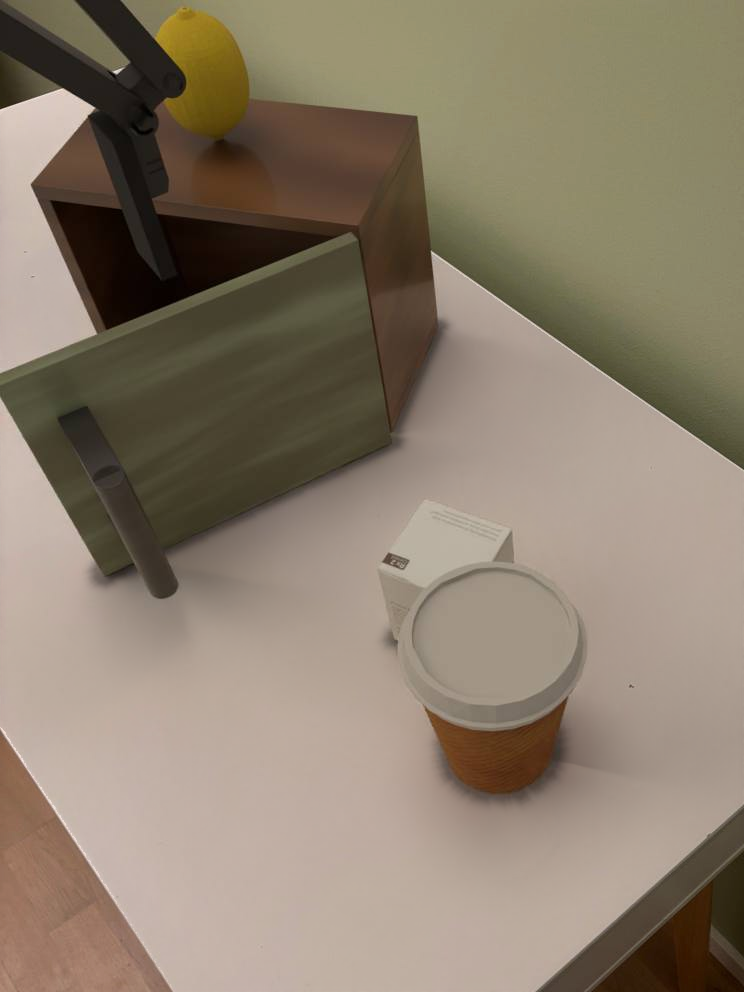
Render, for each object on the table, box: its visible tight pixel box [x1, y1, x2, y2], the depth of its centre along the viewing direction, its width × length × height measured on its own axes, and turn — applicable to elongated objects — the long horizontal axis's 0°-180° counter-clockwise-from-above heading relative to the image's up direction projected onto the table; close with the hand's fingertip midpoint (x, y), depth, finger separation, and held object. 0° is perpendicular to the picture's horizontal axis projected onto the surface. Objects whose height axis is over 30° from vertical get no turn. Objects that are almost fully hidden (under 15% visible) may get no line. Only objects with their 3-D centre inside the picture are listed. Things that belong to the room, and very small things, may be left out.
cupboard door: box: [0, 232, 392, 600], centre depth 63 cm, size 8×22×17 cm, turn 122°
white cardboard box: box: [376, 498, 515, 642], centre depth 63 cm, size 6×6×7 cm
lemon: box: [154, 6, 250, 141], centre depth 64 cm, size 6×6×8 cm
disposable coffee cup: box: [396, 562, 589, 795], centre depth 56 cm, size 10×10×12 cm
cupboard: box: [30, 98, 439, 433], centre depth 73 cm, size 12×22×17 cm, turn 75°
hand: (17, 324), depth 45 cm, fingers open, 13 cm apart
